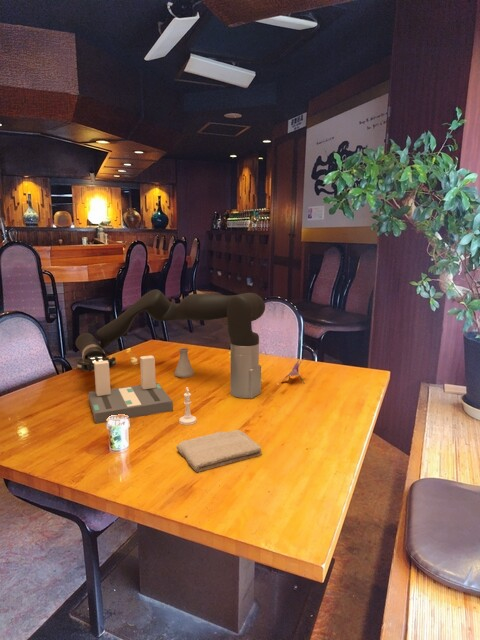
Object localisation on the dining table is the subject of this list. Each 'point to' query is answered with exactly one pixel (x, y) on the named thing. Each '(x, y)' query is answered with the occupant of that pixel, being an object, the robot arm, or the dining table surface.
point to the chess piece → (187, 411)
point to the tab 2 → (147, 372)
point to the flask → (184, 365)
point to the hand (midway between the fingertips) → (100, 370)
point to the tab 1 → (102, 378)
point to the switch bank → (130, 402)
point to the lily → (295, 370)
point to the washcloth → (218, 449)
